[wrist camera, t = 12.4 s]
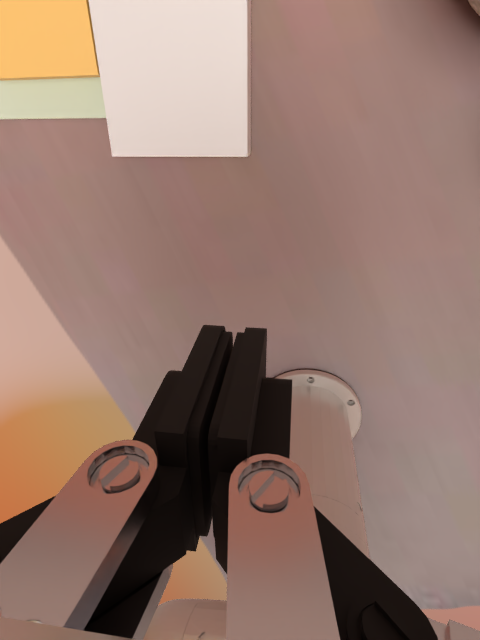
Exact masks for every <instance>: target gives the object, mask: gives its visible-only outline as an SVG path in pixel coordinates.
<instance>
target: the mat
mask: <svg viewBox="0 0 480 640" xmlns="http://www.w3.org/2000/svg"><path fill="white" fill-rule="evenodd" d="M60 118H106V112H105V105H104V99H103V92H102V86H101V79H100V77H90V78H62V79H34V80H7V81H1V80H0V119H60Z"/></svg>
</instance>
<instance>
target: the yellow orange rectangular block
mask: <svg viewBox="0 0 480 640" xmlns="http://www.w3.org/2000/svg"><path fill="white" fill-rule="evenodd" d="M90 77H100V73H99V66H98V59H97V53H96V46H95V40H94V33H93V27H92V20H91V14H90V7H89V0H0V80H1V81H7V80H34V79H62V78H90Z"/></svg>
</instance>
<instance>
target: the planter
mask: <svg viewBox="0 0 480 640" xmlns="http://www.w3.org/2000/svg"><path fill="white" fill-rule="evenodd" d="M468 2H469V3H470V5H471V6H472V8H473V9H474V10H475V12H476V13H477V14H478V15H479V16H480V0H468Z"/></svg>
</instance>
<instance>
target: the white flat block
mask: <svg viewBox="0 0 480 640" xmlns="http://www.w3.org/2000/svg"><path fill="white" fill-rule="evenodd" d="M89 7H90V14H91V20H92V27H93V33H94V40H95V46H96V53H97V59H98V66H99V73H100V79H101V86H102V92H103V99H104V105H105V112H106V119H107V125H108V132H109V138H110V145H111V151H112V157H248V156H249V155H250V154H251V0H89Z"/></svg>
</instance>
